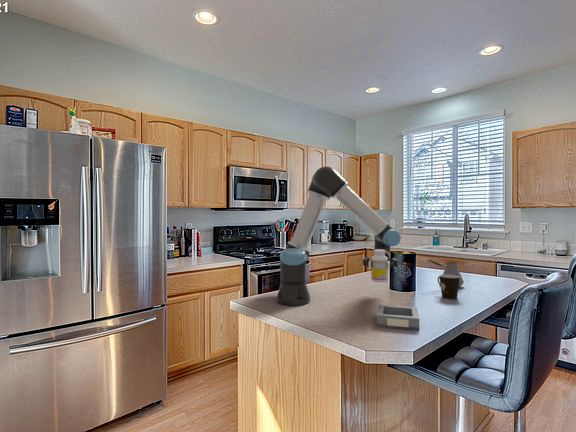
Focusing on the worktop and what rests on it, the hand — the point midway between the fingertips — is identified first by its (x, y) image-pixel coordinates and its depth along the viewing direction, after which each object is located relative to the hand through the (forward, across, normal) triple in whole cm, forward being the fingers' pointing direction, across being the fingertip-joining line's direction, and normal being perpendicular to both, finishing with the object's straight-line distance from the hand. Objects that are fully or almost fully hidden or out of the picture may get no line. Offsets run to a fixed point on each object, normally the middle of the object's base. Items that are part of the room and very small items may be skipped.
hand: (378, 265), depth 135 cm
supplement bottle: (-5, 0, -7) cm, 9 cm away
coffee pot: (-57, -31, -19) cm, 68 cm away
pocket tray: (+10, -7, -19) cm, 22 cm away
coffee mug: (-35, -30, -19) cm, 50 cm away
